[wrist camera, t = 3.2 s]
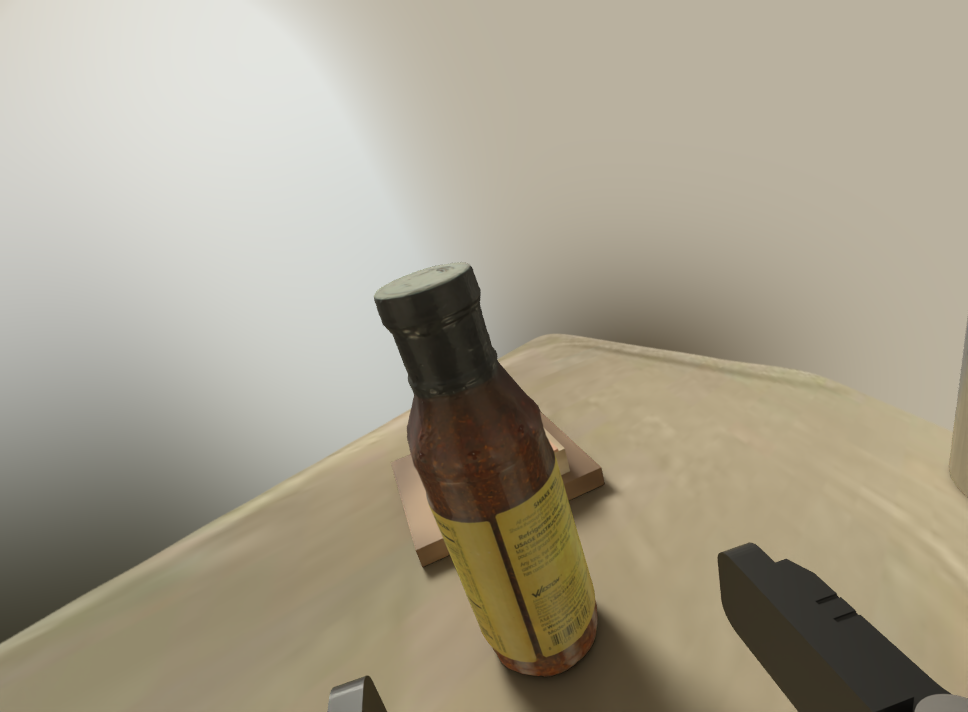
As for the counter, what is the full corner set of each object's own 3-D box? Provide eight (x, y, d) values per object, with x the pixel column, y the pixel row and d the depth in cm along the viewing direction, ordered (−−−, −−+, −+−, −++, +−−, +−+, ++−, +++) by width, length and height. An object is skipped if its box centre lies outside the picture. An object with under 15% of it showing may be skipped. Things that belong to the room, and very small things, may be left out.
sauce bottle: (591, 572, 28) (515, 239, 21) (612, 678, 23) (517, 271, 16) (483, 588, 29) (375, 274, 22) (477, 694, 24) (328, 316, 16)
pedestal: (536, 418, 46) (528, 384, 45) (604, 484, 35) (596, 441, 34) (395, 476, 43) (382, 441, 42) (422, 567, 32) (405, 524, 31)
